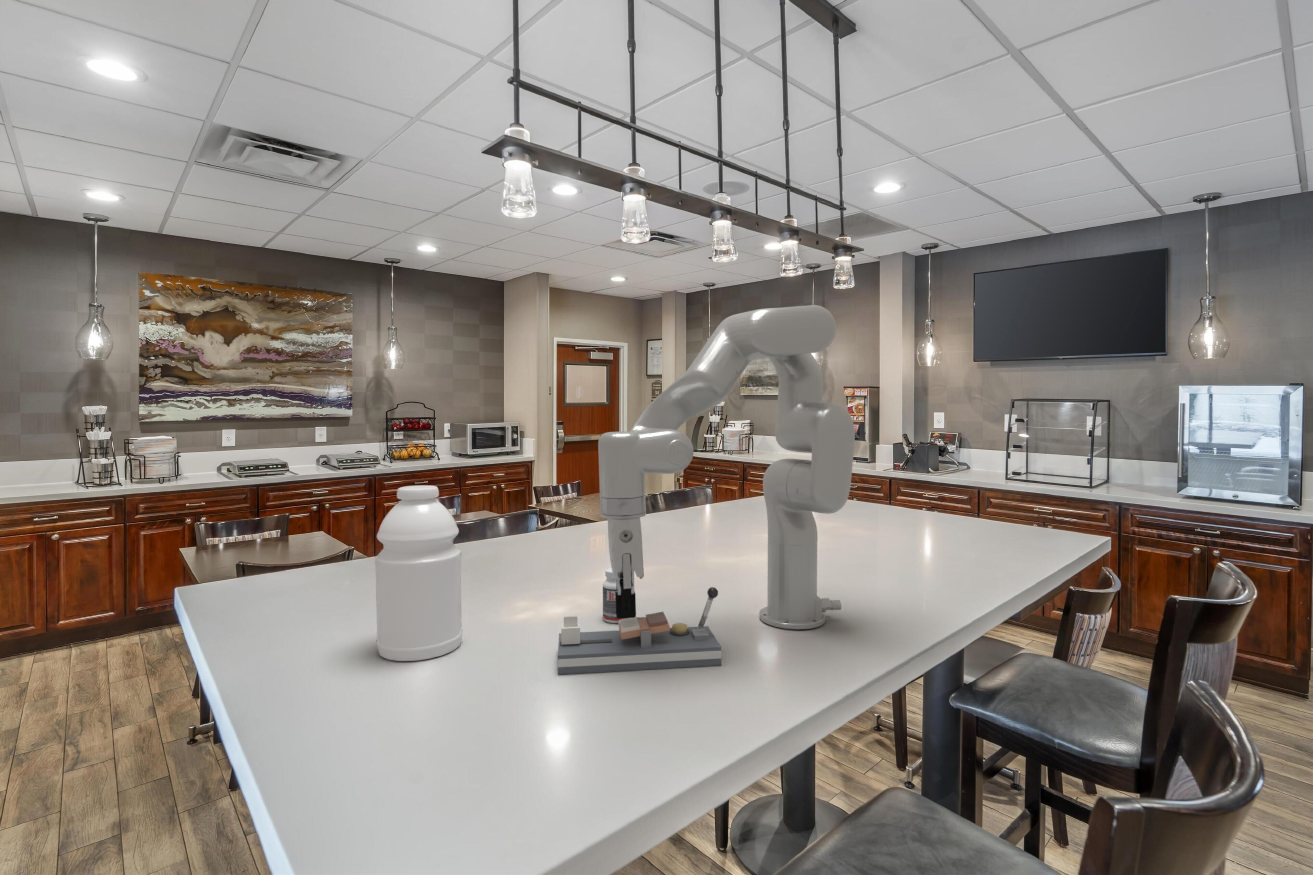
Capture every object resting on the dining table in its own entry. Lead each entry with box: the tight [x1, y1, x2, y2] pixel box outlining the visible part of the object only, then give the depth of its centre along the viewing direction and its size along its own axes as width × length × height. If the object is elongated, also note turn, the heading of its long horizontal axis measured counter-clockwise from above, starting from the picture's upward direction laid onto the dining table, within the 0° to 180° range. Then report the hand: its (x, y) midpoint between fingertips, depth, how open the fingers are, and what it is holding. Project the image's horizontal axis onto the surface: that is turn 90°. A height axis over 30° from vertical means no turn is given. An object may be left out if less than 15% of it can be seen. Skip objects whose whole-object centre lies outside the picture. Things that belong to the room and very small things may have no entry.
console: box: [557, 616, 722, 676], centre depth 104 cm, size 26×10×6 cm, turn 98°
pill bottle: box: [602, 567, 627, 624], centre depth 124 cm, size 6×6×10 cm
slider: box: [560, 614, 581, 645], centre depth 103 cm, size 3×2×4 cm
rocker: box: [617, 611, 671, 640], centre depth 104 cm, size 8×5×2 cm, turn 97°
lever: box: [697, 586, 719, 629], centre depth 106 cm, size 2×2×7 cm
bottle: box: [374, 484, 463, 662], centre depth 109 cm, size 14×14×28 cm
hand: (625, 616), depth 104 cm, fingers closed
